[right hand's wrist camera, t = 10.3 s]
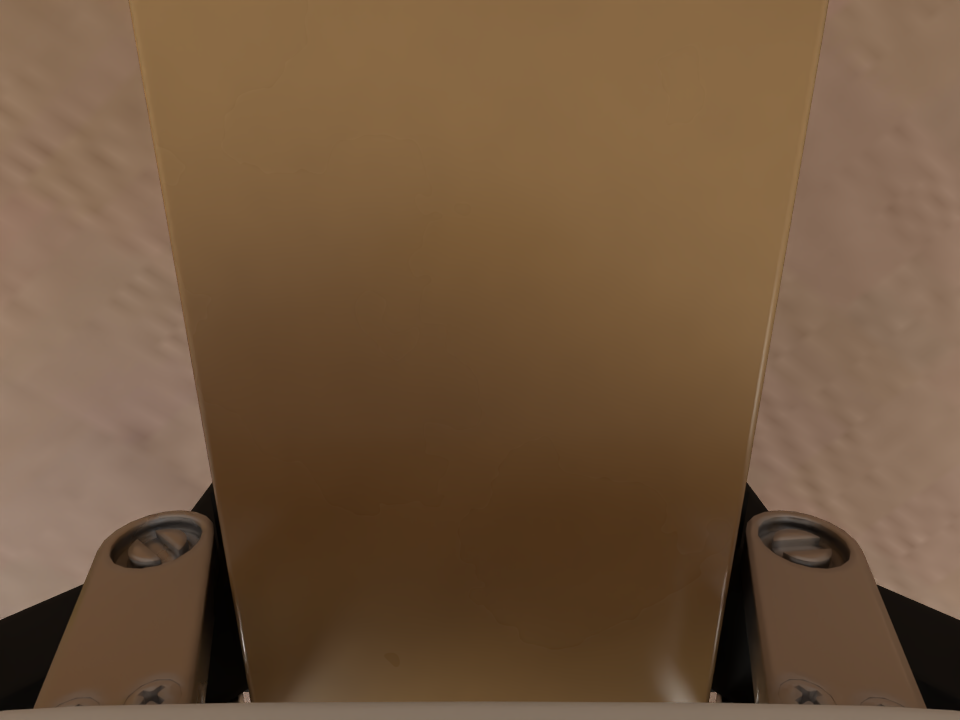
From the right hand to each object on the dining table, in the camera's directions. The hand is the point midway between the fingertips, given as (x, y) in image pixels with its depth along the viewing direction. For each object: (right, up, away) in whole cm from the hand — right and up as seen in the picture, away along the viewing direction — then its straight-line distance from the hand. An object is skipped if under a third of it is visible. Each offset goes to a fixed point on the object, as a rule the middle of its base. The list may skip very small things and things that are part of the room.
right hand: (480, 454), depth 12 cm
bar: (0, -25, +12) cm, 28 cm away
